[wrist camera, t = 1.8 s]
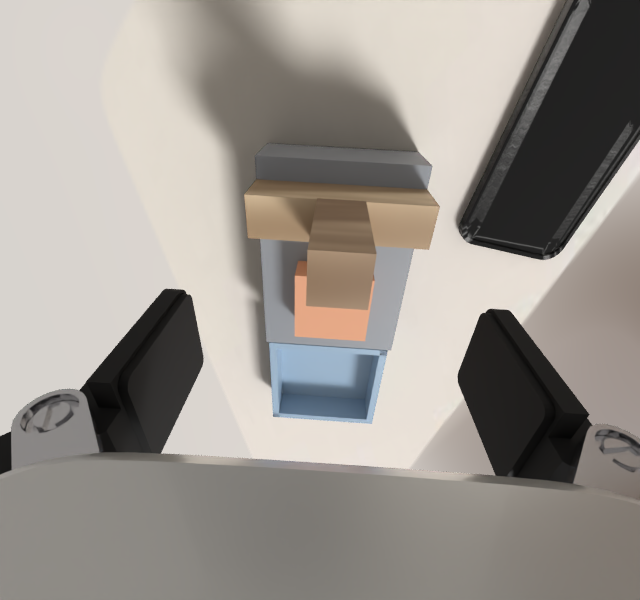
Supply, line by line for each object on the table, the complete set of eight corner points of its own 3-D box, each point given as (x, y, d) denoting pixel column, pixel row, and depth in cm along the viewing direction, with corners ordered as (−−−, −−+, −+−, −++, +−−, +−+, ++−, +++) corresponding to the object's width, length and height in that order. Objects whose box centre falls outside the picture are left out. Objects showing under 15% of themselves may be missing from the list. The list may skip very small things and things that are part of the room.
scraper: (256, 178, 19) (204, 243, 12) (427, 188, 19) (481, 260, 12) (258, 219, 21) (214, 300, 13) (418, 229, 21) (461, 316, 13)
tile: (298, 260, 22) (294, 275, 21) (372, 265, 22) (374, 280, 21) (297, 319, 25) (294, 336, 24) (363, 323, 25) (365, 341, 24)
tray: (275, 320, 31) (269, 342, 28) (383, 328, 30) (387, 350, 28) (277, 393, 36) (273, 416, 34) (369, 399, 36) (371, 423, 34)
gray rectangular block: (267, 143, 22) (254, 155, 19) (418, 152, 22) (432, 165, 19) (274, 312, 30) (266, 341, 27) (385, 319, 30) (390, 350, 27)
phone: (456, 240, 25) (593, -39, 16) (452, 234, 25) (579, -33, 17) (554, 262, 25) (736, 5, 17) (547, 256, 26) (715, 8, 18)
